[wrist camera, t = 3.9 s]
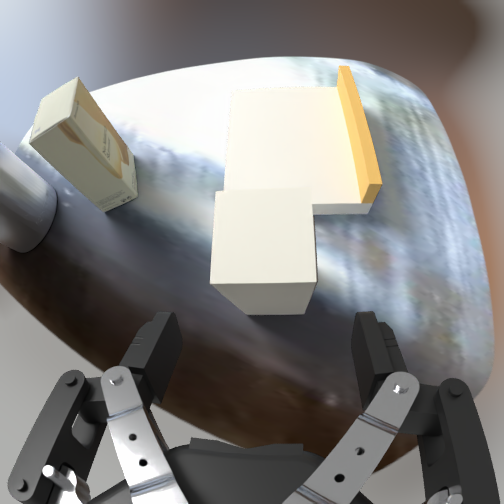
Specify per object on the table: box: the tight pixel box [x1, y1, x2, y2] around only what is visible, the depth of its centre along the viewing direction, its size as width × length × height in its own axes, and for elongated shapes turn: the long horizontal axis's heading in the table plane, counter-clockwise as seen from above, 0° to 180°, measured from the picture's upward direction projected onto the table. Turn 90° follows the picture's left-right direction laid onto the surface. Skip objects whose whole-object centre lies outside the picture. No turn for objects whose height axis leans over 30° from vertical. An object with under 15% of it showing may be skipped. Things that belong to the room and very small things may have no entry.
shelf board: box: [224, 66, 382, 215], centre depth 25 cm, size 12×14×5 cm
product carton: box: [210, 187, 318, 315], centre depth 18 cm, size 5×4×11 cm
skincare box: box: [29, 77, 138, 212], centre depth 23 cm, size 6×4×12 cm
